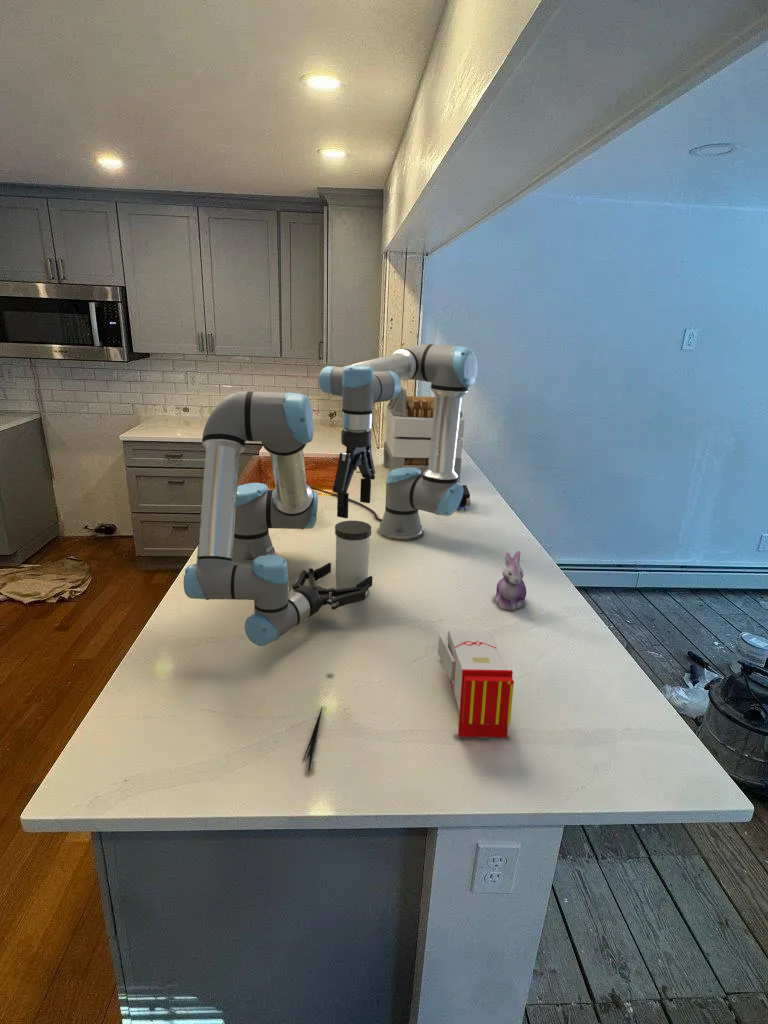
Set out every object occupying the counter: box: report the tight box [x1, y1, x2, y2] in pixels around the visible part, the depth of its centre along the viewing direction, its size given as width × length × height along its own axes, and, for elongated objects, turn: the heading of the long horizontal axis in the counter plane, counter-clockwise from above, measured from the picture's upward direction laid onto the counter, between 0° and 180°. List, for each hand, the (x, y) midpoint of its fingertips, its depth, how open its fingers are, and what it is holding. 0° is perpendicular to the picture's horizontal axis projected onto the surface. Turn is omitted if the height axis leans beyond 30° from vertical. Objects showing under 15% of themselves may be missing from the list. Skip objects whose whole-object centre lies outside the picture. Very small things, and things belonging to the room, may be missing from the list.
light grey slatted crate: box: [383, 386, 465, 483], centre depth 268 cm, size 34×33×41 cm
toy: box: [437, 628, 515, 738], centre depth 117 cm, size 12×13×30 cm
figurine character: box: [456, 484, 471, 512], centre depth 229 cm, size 7×8×15 cm
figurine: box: [495, 550, 527, 611], centre depth 153 cm, size 9×10×15 cm
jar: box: [334, 535, 371, 597], centre depth 154 cm, size 9×9×19 cm
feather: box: [301, 673, 332, 771], centre depth 108 cm, size 2×28×2 cm
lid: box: [334, 520, 372, 540], centre depth 151 cm, size 10×10×2 cm
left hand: (350, 573), depth 154 cm, fingers open, 13 cm apart
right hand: (354, 509), depth 149 cm, fingers open, 13 cm apart
